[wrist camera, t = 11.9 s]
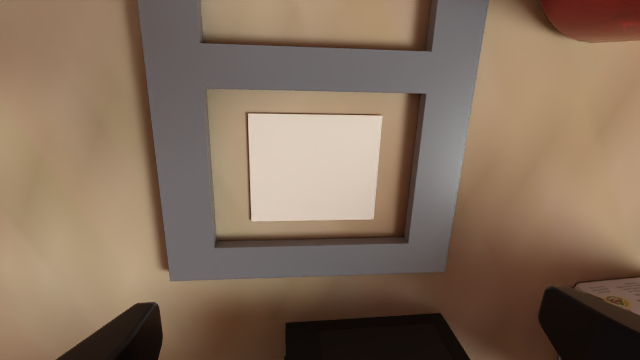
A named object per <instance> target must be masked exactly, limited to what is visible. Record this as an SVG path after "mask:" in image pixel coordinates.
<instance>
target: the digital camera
mask: <svg viewBox="0 0 640 360" xmlns="http://www.w3.org/2000/svg"><path fill="white" fill-rule="evenodd" d="M285 331H286V356H284V360H470V359H469V357H468V355H467V354H466V352H465V351H464V349H463V348H462V346H461V344H460V343H459V341H458V340H457V338H456V337H455V335H454V333H453V332H452V330H451V329H450V327H449V326H448V324H447V322H446V321H445V319H444V318H443V316H442V315H441V313H436V314H420V315H404V316H388V317H372V318H357V319H341V320H325V321H309V322H293V323H286V330H285Z"/></svg>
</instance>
